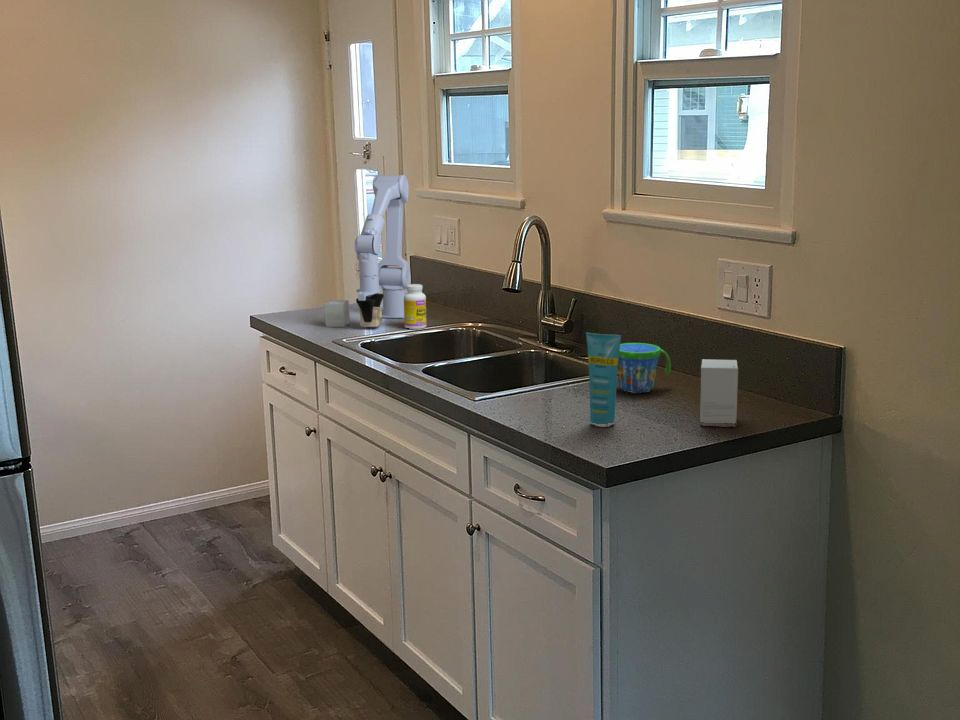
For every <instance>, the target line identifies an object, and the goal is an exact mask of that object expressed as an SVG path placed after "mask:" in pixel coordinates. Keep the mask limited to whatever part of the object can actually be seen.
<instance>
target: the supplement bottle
mask: <svg viewBox="0 0 960 720" xmlns="http://www.w3.org/2000/svg"><path fill="white" fill-rule="evenodd" d="M406 290H407V291H408V292H407V294H405V295H404V318H403V319H404V320H403V321H404V323H403V324H404V328H406V329H407V328H409V329H408V330H422V329H425V328H427V325H428V323H427V296H426V295H425V293H424V292H423V284H419V283H413V284H412V283H411V284H409V285H407V288H406Z"/></svg>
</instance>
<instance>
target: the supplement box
mask: <svg viewBox="0 0 960 720" xmlns="http://www.w3.org/2000/svg"><path fill="white" fill-rule="evenodd" d="M738 367H739V366H738V361H737V359H710V358H709V359H705V358H704V359H703V358H702V359H701V364H700V403H699V404H700V405H699V406H700V407H699V409H700V410H699V411H700V412H699V415H700V416H699V417H700V418H699V422H704V423H733V424H734V423H736V424H737V418H738V417H737V414H738V413H737V412H738V389H739V388H738V383H739V368H738Z"/></svg>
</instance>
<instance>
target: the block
mask: <svg viewBox="0 0 960 720" xmlns="http://www.w3.org/2000/svg"><path fill="white" fill-rule="evenodd" d="M382 310H383V309H382V306H380V307H373V315H372V322H364V319H363V316H362V312H361V310H360V309H359V318H360V320H359V321H360V322H359V323H360V327H368V328H369V327H370V328H371V327H372V328H377V327H378V326H379V327H380V325H382V324H383V318H382V314H383V312H382Z"/></svg>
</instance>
